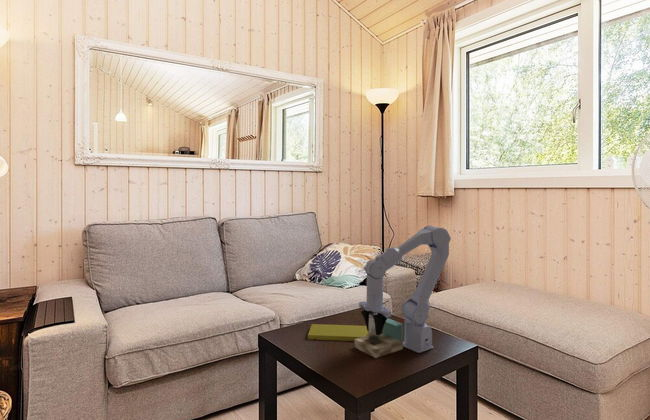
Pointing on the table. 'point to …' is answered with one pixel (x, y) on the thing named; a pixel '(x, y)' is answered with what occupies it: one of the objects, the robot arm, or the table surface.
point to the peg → (372, 328)
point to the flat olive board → (337, 332)
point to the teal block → (393, 329)
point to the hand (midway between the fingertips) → (374, 332)
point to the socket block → (378, 345)
